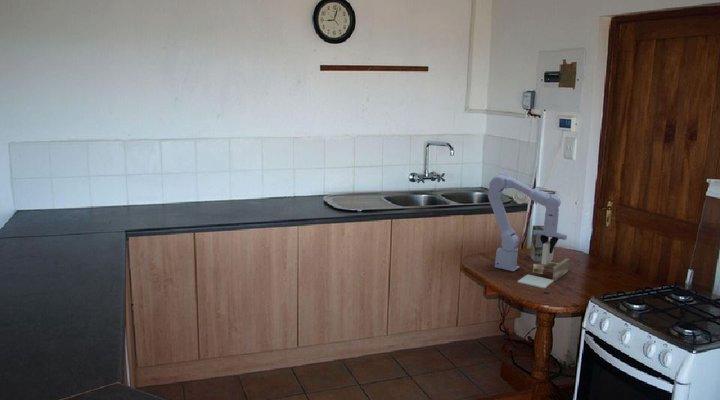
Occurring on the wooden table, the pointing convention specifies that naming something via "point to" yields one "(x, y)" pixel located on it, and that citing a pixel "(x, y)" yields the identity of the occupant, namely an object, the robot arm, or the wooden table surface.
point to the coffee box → (536, 245)
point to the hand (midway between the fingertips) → (548, 252)
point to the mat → (535, 281)
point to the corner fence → (557, 268)
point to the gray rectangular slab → (546, 253)
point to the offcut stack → (538, 269)
